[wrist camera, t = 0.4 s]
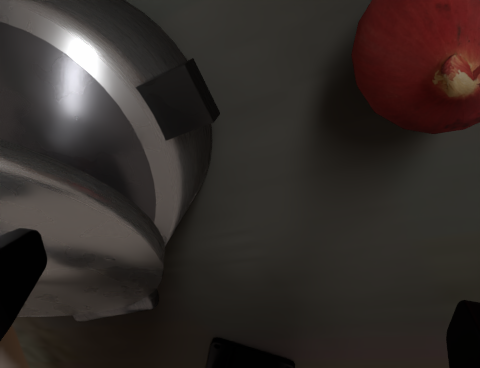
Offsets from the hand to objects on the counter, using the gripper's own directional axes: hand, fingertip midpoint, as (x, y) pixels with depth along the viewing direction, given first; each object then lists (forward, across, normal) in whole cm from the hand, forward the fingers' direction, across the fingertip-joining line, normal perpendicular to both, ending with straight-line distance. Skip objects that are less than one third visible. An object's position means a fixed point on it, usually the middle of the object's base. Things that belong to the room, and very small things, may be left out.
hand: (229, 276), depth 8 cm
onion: (+14, -5, -3) cm, 15 cm away
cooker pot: (+14, +12, +3) cm, 18 cm away
